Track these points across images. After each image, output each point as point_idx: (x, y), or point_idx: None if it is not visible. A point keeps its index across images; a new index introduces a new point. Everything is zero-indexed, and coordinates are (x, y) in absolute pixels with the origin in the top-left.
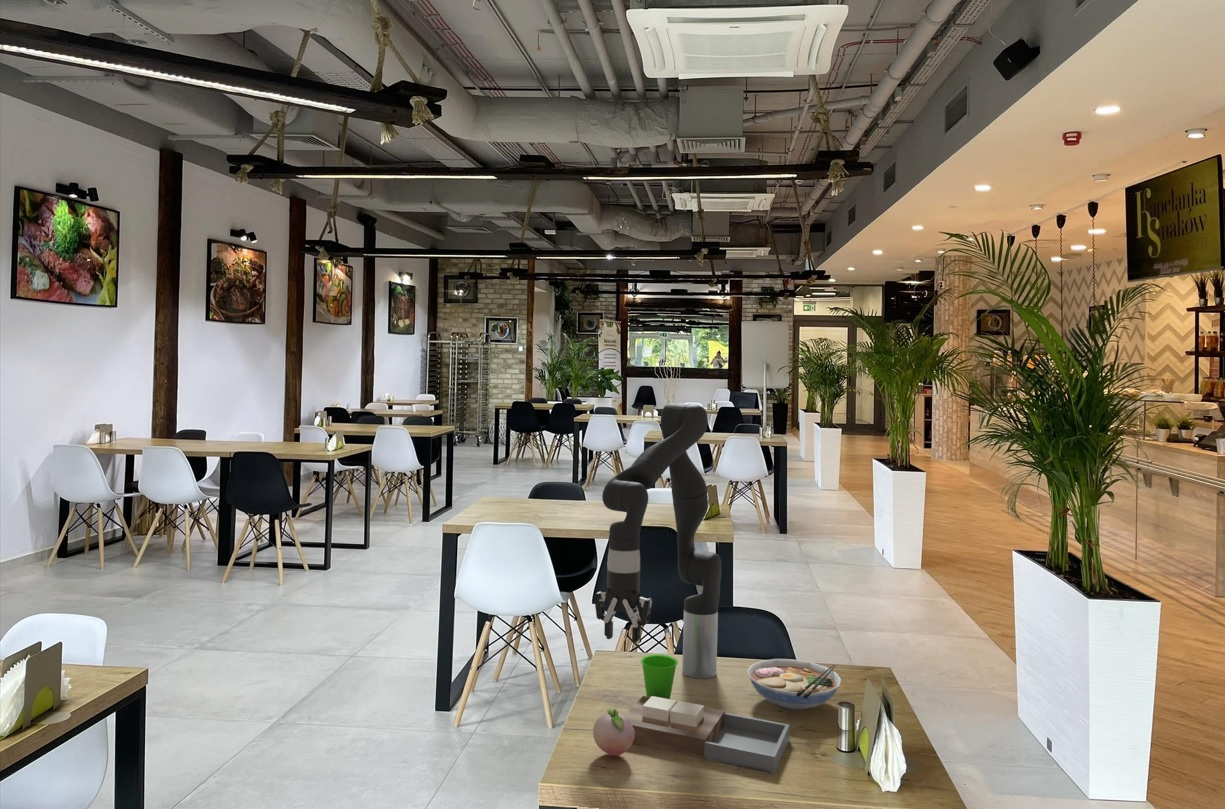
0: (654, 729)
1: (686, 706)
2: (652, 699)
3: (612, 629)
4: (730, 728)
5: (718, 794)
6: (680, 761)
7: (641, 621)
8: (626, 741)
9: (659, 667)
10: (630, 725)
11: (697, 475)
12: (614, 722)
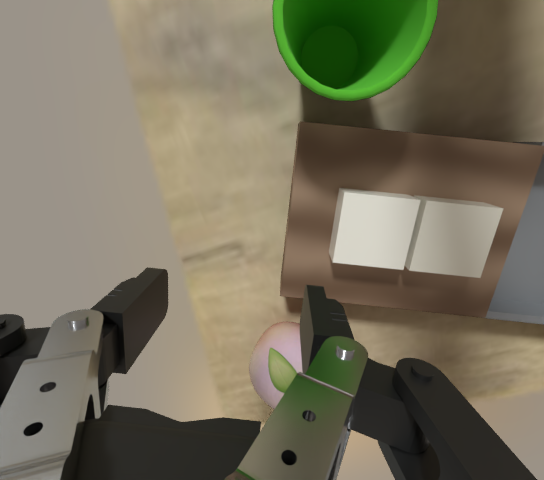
0: (368, 304)
1: (451, 230)
2: (350, 215)
3: (148, 292)
4: None
5: (485, 397)
6: (416, 320)
7: (390, 454)
8: None
9: (368, 94)
10: None
11: None
12: None
